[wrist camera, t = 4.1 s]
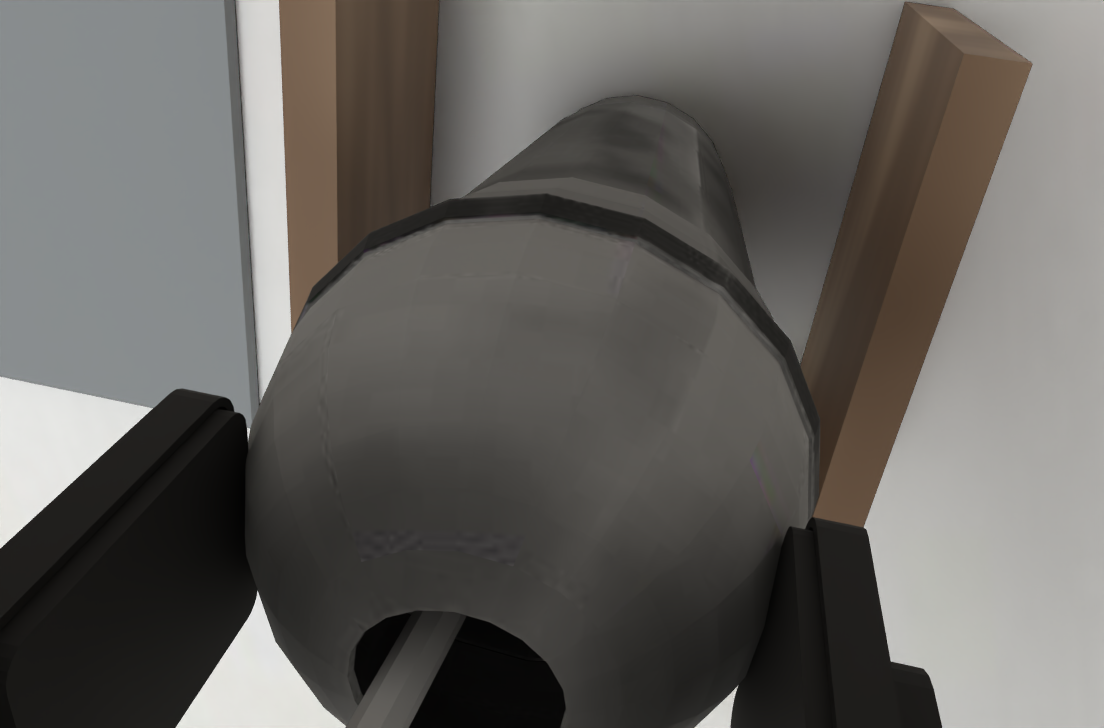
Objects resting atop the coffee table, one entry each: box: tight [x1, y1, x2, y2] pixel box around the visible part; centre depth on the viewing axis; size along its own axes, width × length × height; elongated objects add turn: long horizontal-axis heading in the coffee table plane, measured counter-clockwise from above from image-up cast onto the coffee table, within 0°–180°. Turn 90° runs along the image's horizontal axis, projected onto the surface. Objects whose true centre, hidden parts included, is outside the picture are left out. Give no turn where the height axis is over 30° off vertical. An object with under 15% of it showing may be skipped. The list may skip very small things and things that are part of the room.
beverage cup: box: [245, 95, 820, 728], centre depth 13 cm, size 7×7×20 cm
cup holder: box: [279, 0, 1032, 527], centre depth 20 cm, size 12×11×6 cm
